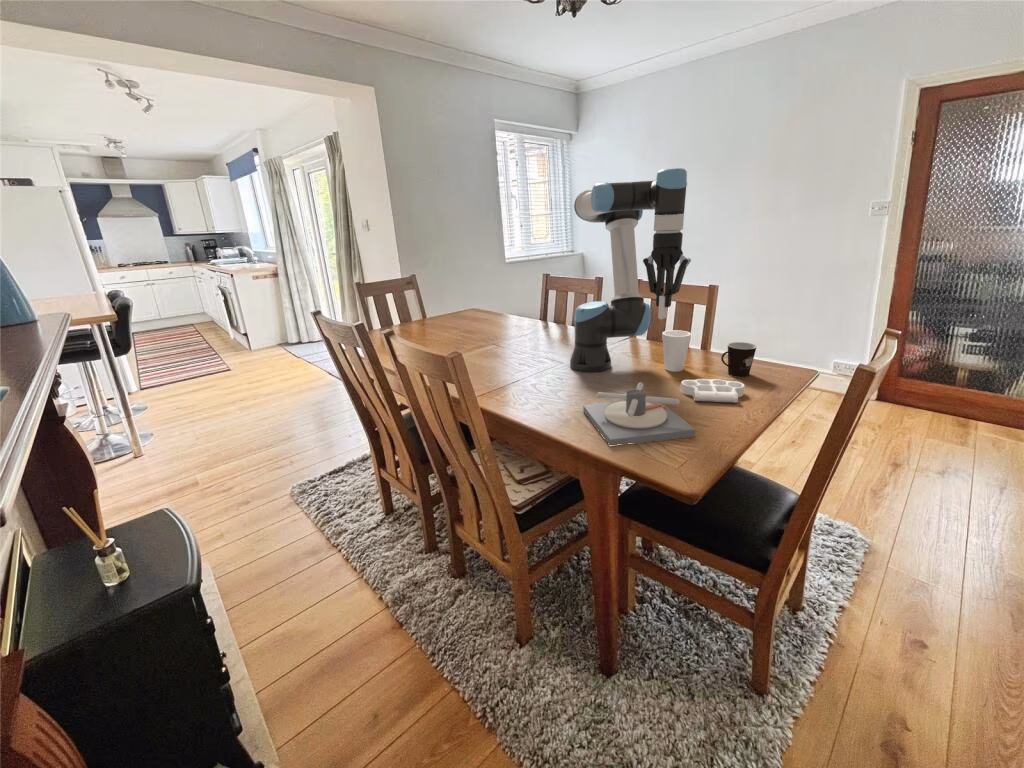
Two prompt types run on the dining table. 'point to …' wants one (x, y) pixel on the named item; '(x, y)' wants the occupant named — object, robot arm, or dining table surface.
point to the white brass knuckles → (713, 390)
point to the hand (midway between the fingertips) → (662, 318)
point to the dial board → (623, 435)
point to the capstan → (636, 409)
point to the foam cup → (675, 349)
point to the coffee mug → (739, 358)
